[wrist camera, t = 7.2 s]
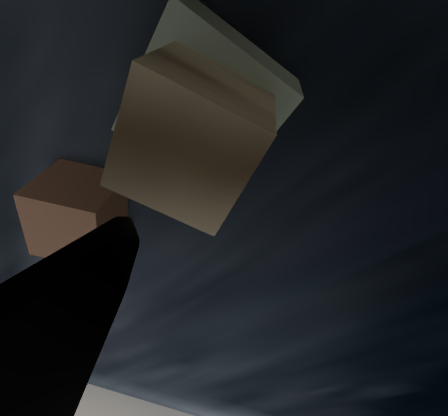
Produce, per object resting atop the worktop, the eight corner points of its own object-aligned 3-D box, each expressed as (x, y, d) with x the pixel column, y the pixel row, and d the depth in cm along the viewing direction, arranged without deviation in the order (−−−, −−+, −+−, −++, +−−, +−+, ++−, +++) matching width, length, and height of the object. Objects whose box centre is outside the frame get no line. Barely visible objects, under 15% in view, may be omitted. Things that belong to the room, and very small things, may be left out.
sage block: (298, 78, 17) (304, 97, 14) (229, 167, 21) (221, 198, 18) (192, -6, 16) (171, -6, 12) (138, 107, 19) (110, 129, 16)
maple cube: (227, 178, 17) (214, 236, 13) (143, 137, 16) (99, 185, 12) (275, 95, 14) (276, 135, 10) (174, 40, 13) (132, 60, 9)
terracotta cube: (128, 173, 22) (95, 213, 18) (128, 225, 25) (100, 270, 21) (60, 157, 22) (13, 194, 18) (68, 211, 25) (29, 254, 21)
